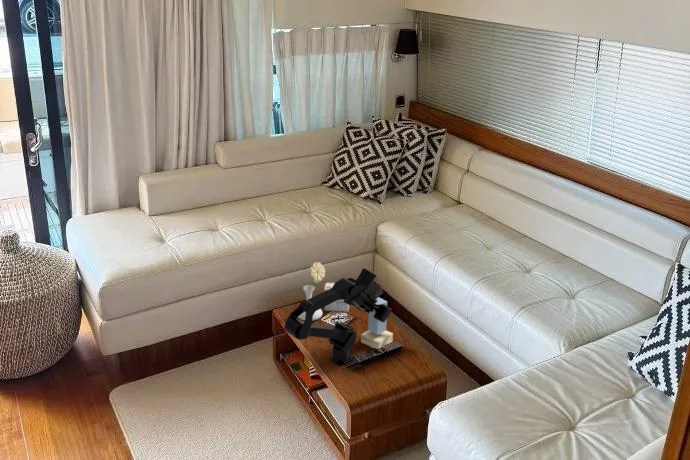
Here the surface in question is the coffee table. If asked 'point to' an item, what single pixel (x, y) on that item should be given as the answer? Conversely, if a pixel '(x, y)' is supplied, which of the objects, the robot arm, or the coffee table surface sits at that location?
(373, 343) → the maple block
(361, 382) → the coffee table surface
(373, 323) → the blue pillar
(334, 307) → the light bulb box
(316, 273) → the flower in vase
